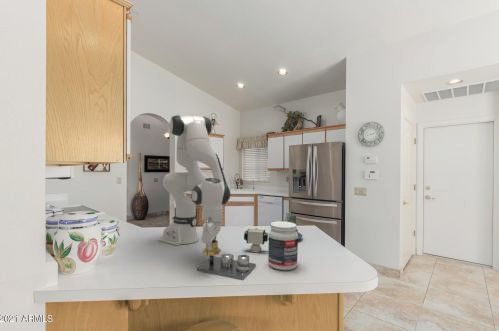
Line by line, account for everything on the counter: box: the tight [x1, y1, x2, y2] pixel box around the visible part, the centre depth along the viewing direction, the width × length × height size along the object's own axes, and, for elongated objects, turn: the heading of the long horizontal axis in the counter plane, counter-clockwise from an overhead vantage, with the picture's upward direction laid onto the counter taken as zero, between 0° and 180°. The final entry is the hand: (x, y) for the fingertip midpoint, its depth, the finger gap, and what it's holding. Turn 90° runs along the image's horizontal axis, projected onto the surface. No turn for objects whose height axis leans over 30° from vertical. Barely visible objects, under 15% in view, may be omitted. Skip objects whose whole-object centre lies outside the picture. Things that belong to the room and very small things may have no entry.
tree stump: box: [268, 212, 303, 241], centre depth 153 cm, size 18×20×18 cm
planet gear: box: [202, 239, 221, 257], centre depth 111 cm, size 7×7×5 cm
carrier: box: [196, 253, 257, 281], centre depth 108 cm, size 21×14×7 cm, turn 68°
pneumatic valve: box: [243, 227, 269, 254], centre depth 130 cm, size 6×12×12 cm, turn 78°
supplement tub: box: [267, 220, 299, 271], centre depth 113 cm, size 13×13×18 cm
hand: (211, 247), depth 111 cm, fingers closed on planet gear, 5 cm apart
